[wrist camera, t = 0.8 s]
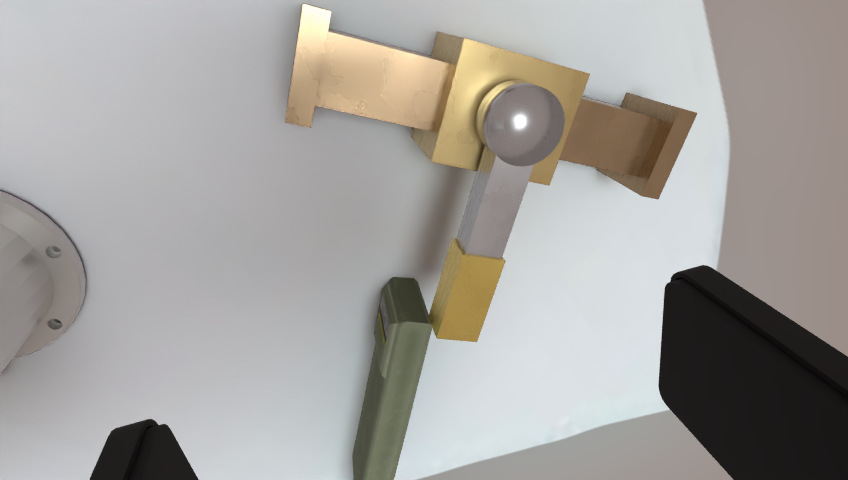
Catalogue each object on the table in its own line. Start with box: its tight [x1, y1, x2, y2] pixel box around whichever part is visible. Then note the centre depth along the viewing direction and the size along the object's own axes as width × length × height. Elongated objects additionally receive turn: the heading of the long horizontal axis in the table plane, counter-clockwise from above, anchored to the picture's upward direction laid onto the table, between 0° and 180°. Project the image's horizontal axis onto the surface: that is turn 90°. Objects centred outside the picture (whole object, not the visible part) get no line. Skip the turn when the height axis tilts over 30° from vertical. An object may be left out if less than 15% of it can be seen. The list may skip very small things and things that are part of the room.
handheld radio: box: [353, 277, 432, 480], centre depth 42 cm, size 7×3×25 cm
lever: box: [428, 80, 565, 342], centre depth 31 cm, size 16×4×2 cm, turn 165°
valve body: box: [285, 3, 697, 199], centre depth 33 cm, size 7×25×6 cm, turn 75°
